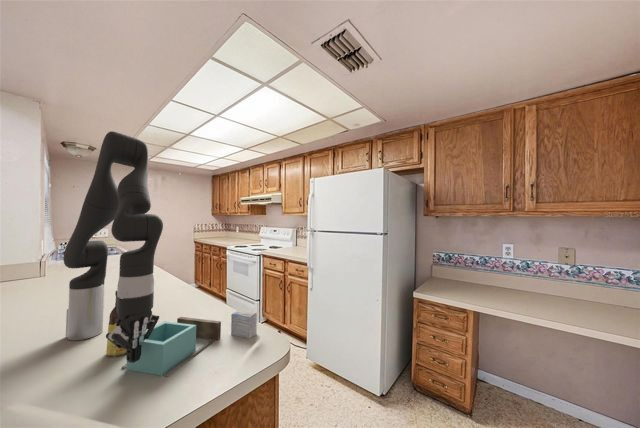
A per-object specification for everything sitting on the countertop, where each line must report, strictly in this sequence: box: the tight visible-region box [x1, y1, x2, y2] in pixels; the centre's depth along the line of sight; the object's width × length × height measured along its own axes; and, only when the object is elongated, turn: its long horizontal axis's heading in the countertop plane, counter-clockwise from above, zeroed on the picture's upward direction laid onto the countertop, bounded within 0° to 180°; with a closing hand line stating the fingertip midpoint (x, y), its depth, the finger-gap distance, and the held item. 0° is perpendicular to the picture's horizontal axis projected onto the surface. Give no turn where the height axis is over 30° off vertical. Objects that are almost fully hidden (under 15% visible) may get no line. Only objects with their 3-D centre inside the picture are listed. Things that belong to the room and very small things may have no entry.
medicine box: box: [230, 309, 258, 339], centre depth 89 cm, size 8×4×9 cm, turn 71°
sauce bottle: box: [105, 289, 127, 358], centre depth 76 cm, size 7×6×20 cm
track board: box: [121, 316, 222, 378], centre depth 77 cm, size 16×22×7 cm
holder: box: [125, 320, 197, 377], centre depth 72 cm, size 11×12×8 cm
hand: (133, 360), depth 63 cm, fingers closed
